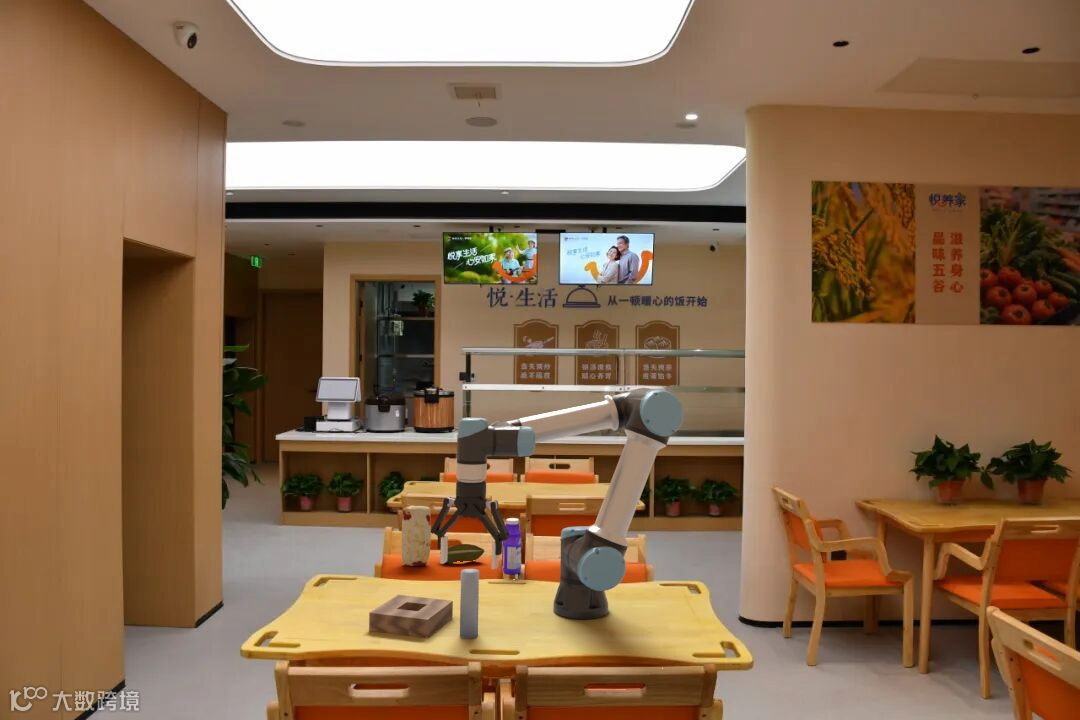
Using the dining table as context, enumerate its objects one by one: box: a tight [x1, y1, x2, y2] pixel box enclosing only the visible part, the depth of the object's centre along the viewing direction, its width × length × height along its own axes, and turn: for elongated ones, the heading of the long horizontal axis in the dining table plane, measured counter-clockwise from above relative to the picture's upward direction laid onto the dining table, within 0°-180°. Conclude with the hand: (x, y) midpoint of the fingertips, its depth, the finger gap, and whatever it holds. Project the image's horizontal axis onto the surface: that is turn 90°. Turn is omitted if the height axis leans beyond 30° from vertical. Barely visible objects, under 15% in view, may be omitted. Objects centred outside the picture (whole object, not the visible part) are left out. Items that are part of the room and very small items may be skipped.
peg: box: [459, 568, 480, 640], centre depth 195 cm, size 4×4×16 cm
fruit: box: [439, 543, 485, 565], centre depth 264 cm, size 11×12×7 cm
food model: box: [401, 505, 432, 567], centre depth 260 cm, size 10×7×20 cm
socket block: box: [368, 594, 454, 639], centre depth 202 cm, size 16×16×4 cm
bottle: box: [502, 517, 522, 576], centre depth 253 cm, size 7×6×17 cm
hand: (469, 565), depth 195 cm, fingers open, 13 cm apart
